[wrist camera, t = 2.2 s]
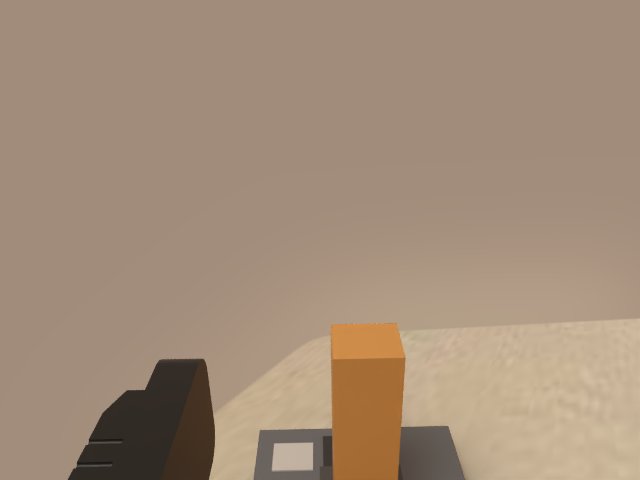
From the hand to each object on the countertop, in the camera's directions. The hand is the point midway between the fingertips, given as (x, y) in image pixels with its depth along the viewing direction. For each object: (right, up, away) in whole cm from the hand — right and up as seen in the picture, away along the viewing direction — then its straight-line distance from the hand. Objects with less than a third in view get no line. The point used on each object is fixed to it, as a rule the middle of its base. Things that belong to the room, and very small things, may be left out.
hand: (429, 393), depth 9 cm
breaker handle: (0, -11, +18) cm, 21 cm away
